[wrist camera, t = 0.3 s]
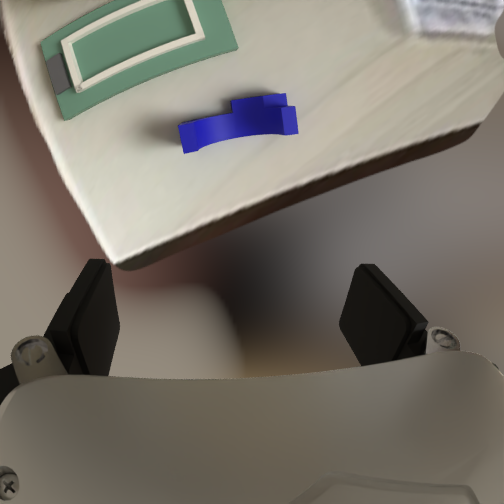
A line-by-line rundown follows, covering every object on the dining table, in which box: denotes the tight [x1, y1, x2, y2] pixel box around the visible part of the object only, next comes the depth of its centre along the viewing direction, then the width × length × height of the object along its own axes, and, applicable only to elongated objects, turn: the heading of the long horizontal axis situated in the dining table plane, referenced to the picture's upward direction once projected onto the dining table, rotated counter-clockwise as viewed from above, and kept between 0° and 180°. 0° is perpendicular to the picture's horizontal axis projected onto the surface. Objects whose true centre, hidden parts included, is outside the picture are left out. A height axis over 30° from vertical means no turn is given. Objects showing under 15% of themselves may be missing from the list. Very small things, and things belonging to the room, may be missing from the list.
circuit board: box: [41, 0, 238, 121], centre depth 26 cm, size 22×12×3 cm, turn 107°
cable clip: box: [178, 93, 299, 154], centre depth 31 cm, size 12×4×6 cm, turn 99°
